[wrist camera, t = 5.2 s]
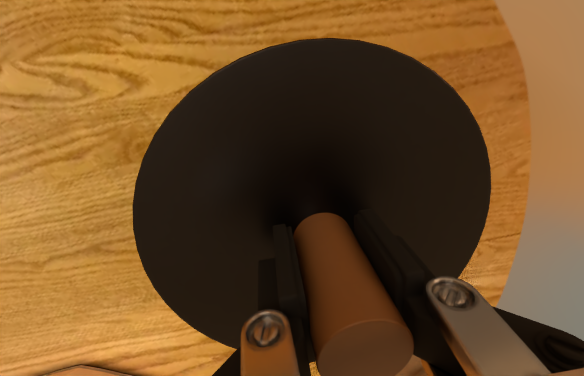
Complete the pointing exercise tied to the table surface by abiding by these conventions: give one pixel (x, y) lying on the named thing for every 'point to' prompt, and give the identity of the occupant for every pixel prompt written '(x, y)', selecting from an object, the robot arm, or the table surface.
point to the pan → (85, 372)
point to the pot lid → (310, 191)
